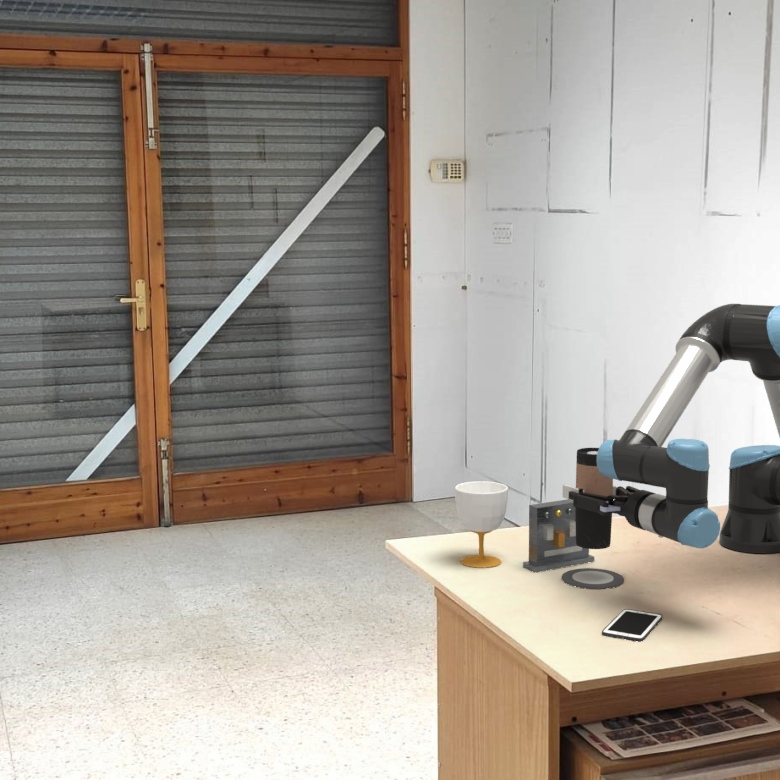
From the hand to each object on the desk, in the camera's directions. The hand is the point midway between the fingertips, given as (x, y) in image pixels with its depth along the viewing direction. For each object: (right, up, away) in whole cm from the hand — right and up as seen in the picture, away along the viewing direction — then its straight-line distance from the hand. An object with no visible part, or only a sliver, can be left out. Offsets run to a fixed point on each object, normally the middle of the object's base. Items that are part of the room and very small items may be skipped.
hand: (579, 488), depth 239 cm
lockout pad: (+2, -19, -1) cm, 19 cm away
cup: (-20, -18, +12) cm, 29 cm away
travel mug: (+2, -12, -3) cm, 12 cm away
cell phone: (+5, -24, -29) cm, 38 cm away
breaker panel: (-3, -18, +9) cm, 20 cm away
